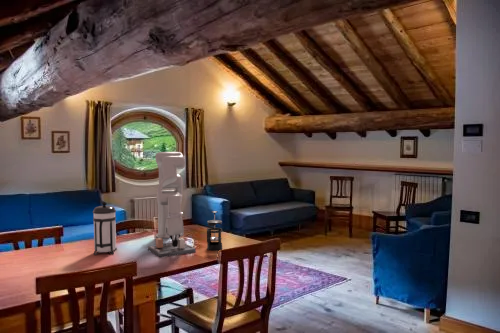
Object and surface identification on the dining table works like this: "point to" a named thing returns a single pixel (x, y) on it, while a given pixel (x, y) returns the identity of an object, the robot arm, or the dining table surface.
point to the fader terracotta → (159, 242)
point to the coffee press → (104, 229)
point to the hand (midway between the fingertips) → (174, 246)
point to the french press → (214, 245)
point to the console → (170, 250)
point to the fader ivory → (181, 243)
